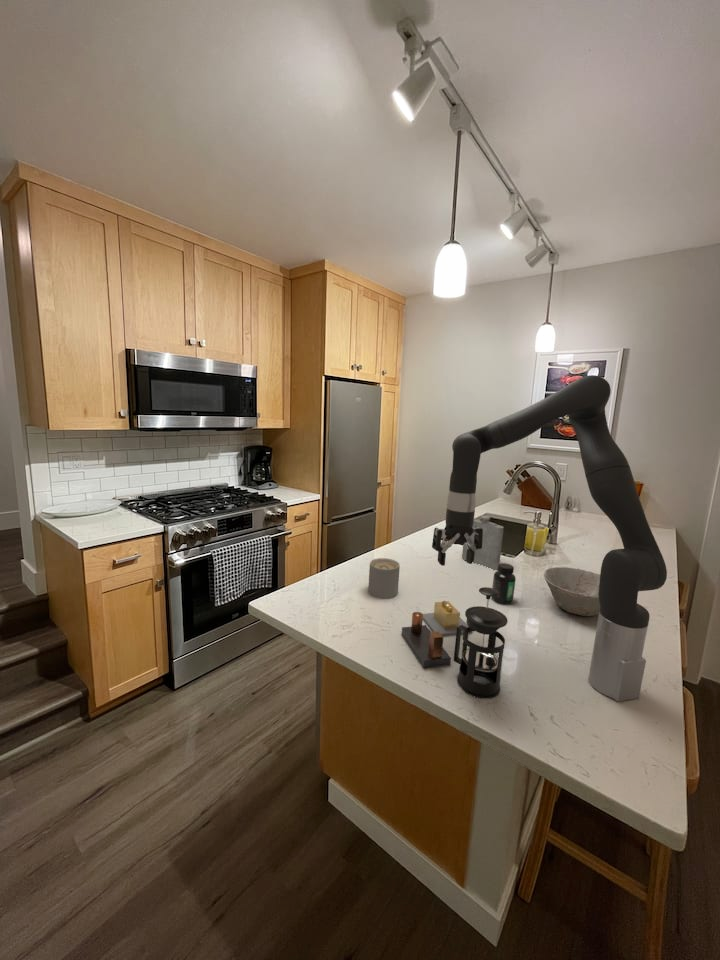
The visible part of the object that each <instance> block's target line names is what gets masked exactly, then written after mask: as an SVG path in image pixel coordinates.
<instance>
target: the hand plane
mask: <svg viewBox="0 0 720 960" xmlns="http://www.w3.org/2000/svg"><path fill="white" fill-rule="evenodd" d="M423 614H424V613H422V612H419V611H414V612H413V613H412V615H411V616H412V617H411V626H403V627H401V636H402V637H403V639H404V640H405V642H406V643H407V645H408V646H409V648H410V649H411V651H412V653H413V655H415V657H416V659H417V660H418V663H420V665H421V666H422V668H423V669H427V668H428V669H431V668H435V667H444V666H445V667H446V666H451V659H452V657H451V656H450V654H449V653H448V652H447V651H446V649H445V648H444V646H443V645H444V636H442V634H441V633H440V632H432V631H431V629H430V628H429V627H428V626H427V624H424V625H423V622H424V620H423Z"/></svg>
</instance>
